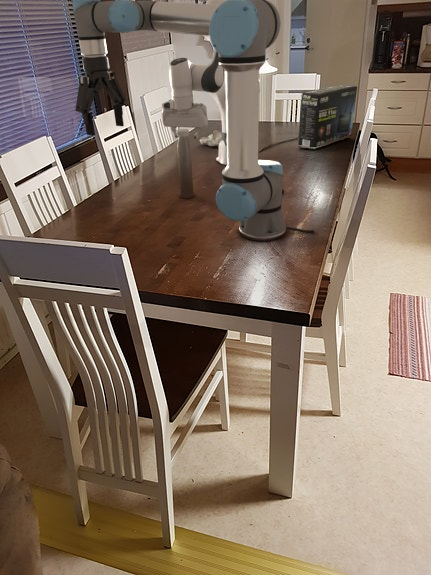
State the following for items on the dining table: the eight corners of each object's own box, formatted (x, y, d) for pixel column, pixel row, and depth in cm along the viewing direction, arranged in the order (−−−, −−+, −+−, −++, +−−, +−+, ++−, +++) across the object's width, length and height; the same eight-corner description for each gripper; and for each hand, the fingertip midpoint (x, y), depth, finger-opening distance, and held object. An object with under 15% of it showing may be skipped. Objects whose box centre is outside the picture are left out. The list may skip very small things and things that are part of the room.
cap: (190, 133, 171) (190, 128, 170) (187, 136, 167) (187, 131, 166) (178, 133, 172) (178, 128, 171) (175, 136, 168) (174, 131, 167)
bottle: (194, 194, 183) (190, 129, 171) (191, 198, 179) (187, 132, 166) (182, 193, 184) (177, 129, 171) (179, 198, 180) (174, 132, 167)
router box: (314, 151, 231) (318, 94, 217) (296, 148, 237) (299, 92, 224) (352, 138, 251) (358, 85, 238) (335, 135, 258) (340, 83, 245)
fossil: (223, 141, 238) (204, 123, 241) (212, 159, 245) (194, 141, 248) (240, 140, 252) (222, 123, 255) (230, 156, 258) (212, 139, 262)
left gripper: (209, 101, 184) (212, 137, 191) (166, 101, 192) (170, 135, 200) (202, 104, 179) (205, 140, 186) (158, 104, 188) (162, 138, 195)
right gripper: (113, 52, 146) (122, 121, 157) (53, 59, 128) (68, 137, 139) (131, 52, 143) (139, 123, 153) (73, 60, 124) (87, 140, 135)
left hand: (186, 137), depth 193 cm, fingers open, 8 cm apart
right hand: (106, 130), depth 146 cm, fingers open, 13 cm apart
